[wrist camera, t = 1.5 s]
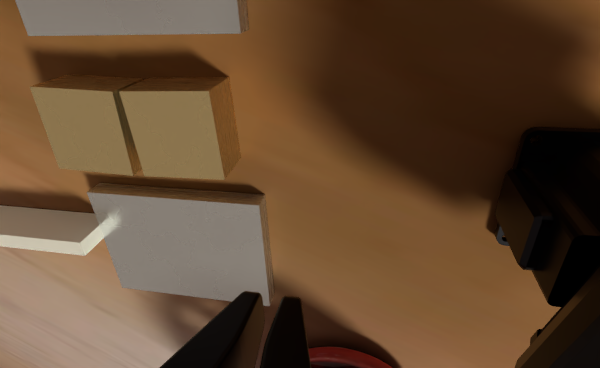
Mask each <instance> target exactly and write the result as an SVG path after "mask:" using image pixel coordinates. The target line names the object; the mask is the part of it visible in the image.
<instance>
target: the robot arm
mask: <svg viewBox="0 0 600 368" xmlns="http://www.w3.org/2000/svg"><path fill="white" fill-rule="evenodd" d="M537 135H538V136H539V139H538V140H537V141H536V142H532V143H531V142H530V140H531V138H532V137H534V136H537ZM495 216H496V218H497V220H498V223H497V226H496V230H495V237H496V239H497V241H498V243H500V244H501V245H506V246H510V248H511V250H512V252H513V255H514V257H515V259H516V261H517V263H518V265H519V266H520V267H521V268H522V269H523V270H532V272H533V274H534V276H535V278H536V280H537V282H538V284H539V286H540V288H541V290H542V292H543V294H544V296H545V298H546V300H547V302H548V304H549V305H551V306H556V307H561V308H560V309H559V311H558V312H557V313H556V314H555V315H554V316H553V317H552V319H551V320H550V321H549V322H548V323H547V324H546V325H545V327H544V328H543V329H538V330H537V331H536V332H535V334H534V335H533V336H532V337H531V339H530V346H529V348H528V349H527V350H526V351H525V352H524V353H523V354H522V355H521V357H520V358H519V359H518V360H517V363H516V365H515V368H600V129H579V128H548V127H534V128H530V129H528V130H526V131H525V132H524V133H523V135H522V137H521V140H520V144H519V148H518V151H517V155H516V158H515V162H514V165H513V169H510V170H509V171H508V172H507V173H506V174H505V178H504V182H503V185H502V189H501V193H500V196H499V200H498V204H497V208H496V211H495ZM503 235H505V237H502V236H503ZM264 321H265V316H264V308H263V300H262V295H261V294H260V293H258V292H251V291H244V292H242V293H241V294H240V295H239V296H238V297H236V298H235V299H234V300H233V301H232V302H231V303H230V304H229V305H228V306H227V307H225V308H224V309H223V310H222V311H221V312H220V313H219V314H218V315H217V316H216V317H215V318H213V319H212V320H211V321H210V322H209V323H208V324H207V325H206V326H205V327H204V328H203V329H201V330H200V331H199V332H198V333H197V334H196V335H195V336H194V337H193V338H192V339H190V340H189V341H188V342H187V343H186V344H185V345H184V346H183V347H182V348H181V349H180V350H178V351H177V352H176V353H175V354H174V355H173V356H172V357H171V358H170V359H169V360H167V361H166V362H165V363H164V364H163V365H162V366H161V367H160V368H255V364H256V359H257V355H258V350H259V346H260V342H261V337H262V333H263V328H264ZM260 368H311V363H310V356H309V350H308V343H307V336H306V330H305V323H304V316H303V309H302V303H301V299H300V298H299V297H292V296H284V297H283V298H282V300H281V302H280V305H279V307H278V310H277V313H276V315H275V318H274V320H273V323H272V326H271V328H270V331H269V333H268V336H267V339H266V342H265V346H264V350H263V355H262V360H261V365H260Z"/></svg>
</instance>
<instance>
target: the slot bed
mask: <svg viewBox="0 0 600 368" xmlns="http://www.w3.org/2000/svg"><path fill="white" fill-rule="evenodd" d="M15 1H16V4H17V6H18V9H19V12H20V14H21V17H22V20H23V22H24V25H25V28H26V30H27V33H28V36H64V35H149V34H233V33H243V32H245V31H247V30H249V25H248V14H247V4H246V0H15ZM87 194H88V197H89V199H90V202H91V205H92V207H93V210H94V213H95V215H96V218H97V221H98V224H99V226H100V229H101V232H102V234H103V237H104V240H105V242H106V245H107V248H108V250H109V253H110V256H111V258H112V261H113V264H114V266H115V269H116V272H117V274H118V277H119V280H120V283H121V285H122V288H129V289H137V290H145V291H153V292H161V293H169V294H177V295H184V296H192V297H200V298H208V299H216V300H224V301H233V300H234V299H235V298H236V297H238V296H239V295H240V294H241V293H242V292H244V291H251V292H258V293H260V294H261V295H262V300H263V306H270V305H271V302H272V299H273V296H274V284H273V273H272V263H271V253H270V242H269V232H268V222H267V211H266V201H265V194H251V193H237V192H223V191H209V190H195V189H180V188H166V187H152V186H138V185H124V184H110V183H99V184H97V185H96V186H95V187H93V188H92V189H91V190H89V191H88V192H87Z"/></svg>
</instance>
